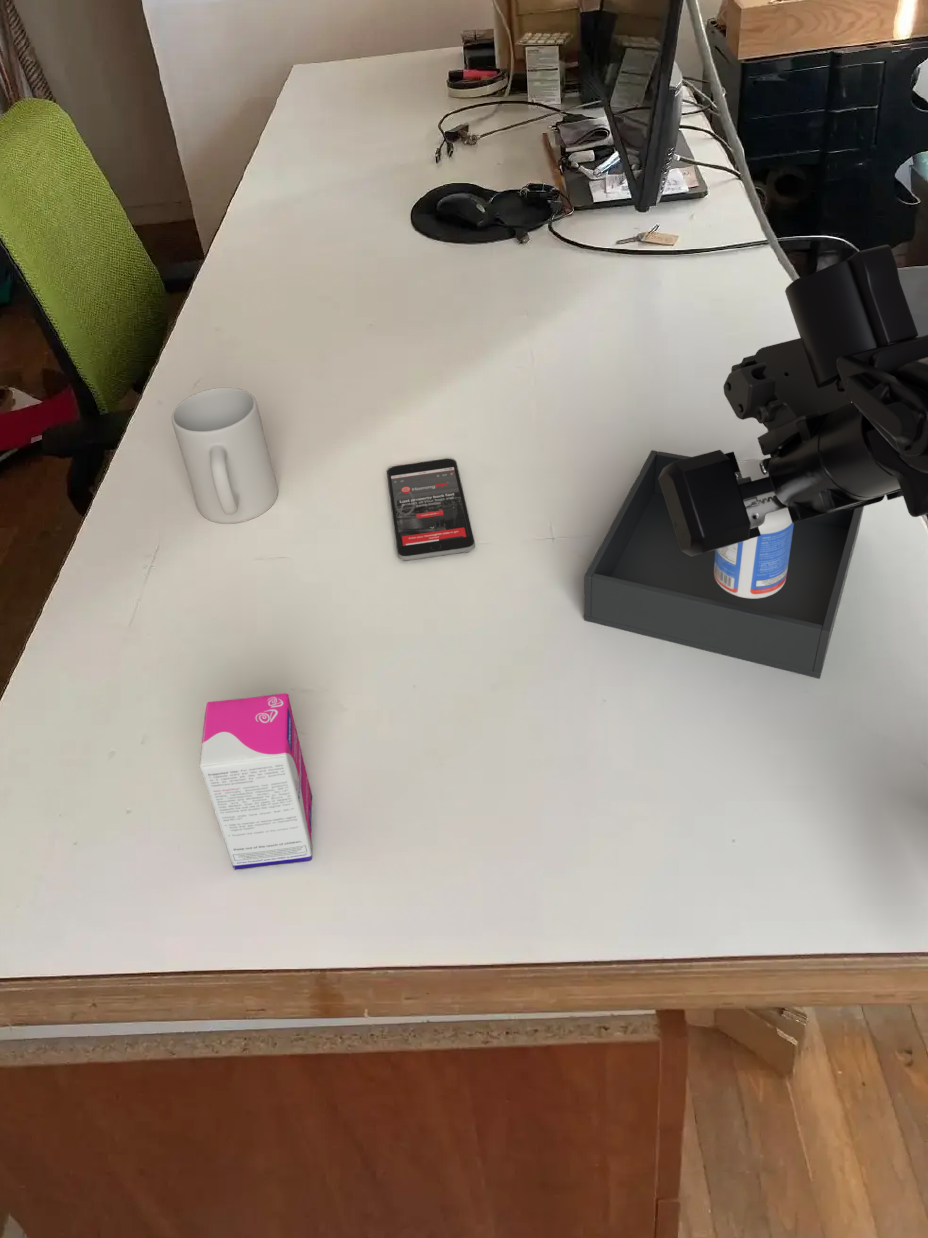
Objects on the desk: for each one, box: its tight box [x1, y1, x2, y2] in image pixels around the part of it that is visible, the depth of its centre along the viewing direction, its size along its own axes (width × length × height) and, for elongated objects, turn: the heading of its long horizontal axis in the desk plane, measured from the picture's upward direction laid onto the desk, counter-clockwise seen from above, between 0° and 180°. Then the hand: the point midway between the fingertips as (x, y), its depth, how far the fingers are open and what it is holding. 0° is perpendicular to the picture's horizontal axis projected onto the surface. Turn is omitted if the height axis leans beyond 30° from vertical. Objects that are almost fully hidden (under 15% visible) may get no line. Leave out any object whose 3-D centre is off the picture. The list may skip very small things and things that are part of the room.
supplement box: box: [199, 692, 313, 871], centre depth 70 cm, size 6×6×12 cm
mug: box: [171, 387, 279, 525], centre depth 101 cm, size 12×8×11 cm
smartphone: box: [386, 457, 476, 561], centre depth 101 cm, size 7×1×15 cm
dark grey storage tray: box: [583, 449, 865, 679], centre depth 88 cm, size 19×19×5 cm
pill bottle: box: [714, 459, 794, 599], centre depth 76 cm, size 6×5×10 cm
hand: (747, 500), depth 76 cm, fingers closed on pill bottle, 5 cm apart
